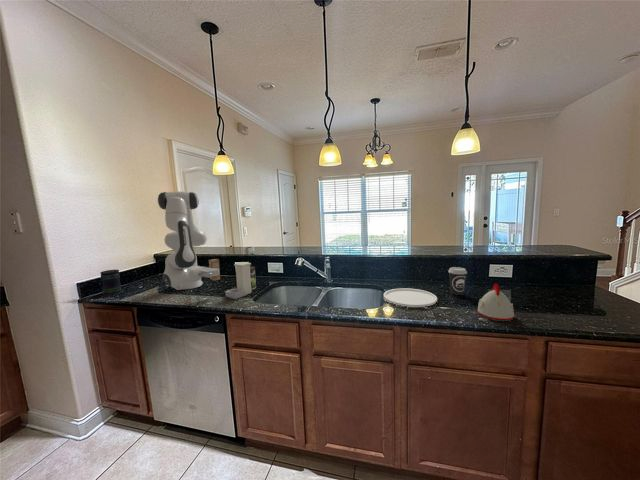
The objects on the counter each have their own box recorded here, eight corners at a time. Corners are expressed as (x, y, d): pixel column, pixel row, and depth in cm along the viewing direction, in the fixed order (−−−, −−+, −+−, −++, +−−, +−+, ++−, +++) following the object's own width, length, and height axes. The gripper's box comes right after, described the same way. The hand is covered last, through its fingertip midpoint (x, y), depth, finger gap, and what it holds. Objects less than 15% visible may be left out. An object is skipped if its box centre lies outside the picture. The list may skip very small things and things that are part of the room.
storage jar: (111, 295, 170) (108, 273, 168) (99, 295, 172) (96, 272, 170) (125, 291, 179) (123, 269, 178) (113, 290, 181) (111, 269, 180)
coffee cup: (468, 293, 152) (469, 268, 150) (463, 298, 145) (464, 271, 143) (450, 290, 158) (451, 266, 157) (445, 294, 151) (445, 269, 150)
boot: (225, 297, 160) (223, 266, 157) (244, 290, 172) (242, 261, 169) (235, 299, 155) (233, 267, 153) (253, 292, 167) (252, 263, 165)
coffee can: (258, 286, 180) (257, 266, 179) (252, 290, 170) (250, 269, 169) (244, 285, 183) (243, 265, 181) (237, 290, 173) (235, 269, 171)
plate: (398, 312, 129) (398, 307, 129) (375, 294, 157) (375, 290, 156) (448, 306, 135) (449, 301, 135) (418, 290, 162) (418, 286, 162)
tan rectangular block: (209, 279, 161) (208, 260, 159) (216, 278, 164) (214, 259, 163) (214, 280, 158) (212, 260, 157) (220, 279, 162) (219, 259, 160)
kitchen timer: (480, 319, 117) (482, 287, 115) (474, 308, 130) (475, 279, 128) (518, 323, 112) (520, 289, 110) (508, 311, 125) (510, 281, 123)
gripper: (205, 269, 144) (226, 265, 155) (184, 266, 155) (205, 262, 166) (206, 281, 144) (227, 275, 156) (185, 277, 156) (206, 272, 167)
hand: (215, 268), depth 161 cm, fingers closed on tan rectangular block, 4 cm apart
